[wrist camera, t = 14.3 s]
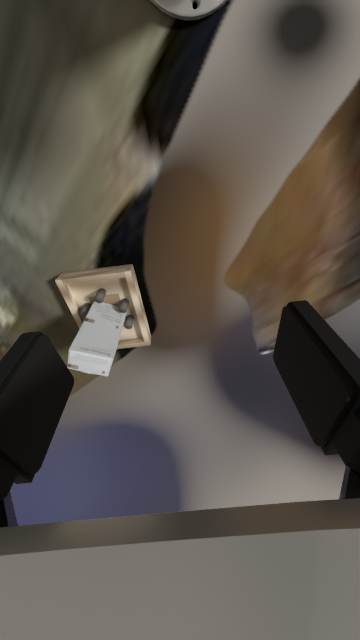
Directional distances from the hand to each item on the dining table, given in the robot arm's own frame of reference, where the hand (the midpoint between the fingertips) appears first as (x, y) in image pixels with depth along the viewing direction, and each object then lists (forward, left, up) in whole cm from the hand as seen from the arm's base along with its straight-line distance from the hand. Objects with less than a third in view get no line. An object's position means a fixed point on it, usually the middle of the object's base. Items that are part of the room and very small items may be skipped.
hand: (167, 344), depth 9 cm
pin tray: (+16, -13, -28) cm, 35 cm away
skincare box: (+16, -13, -27) cm, 34 cm away
